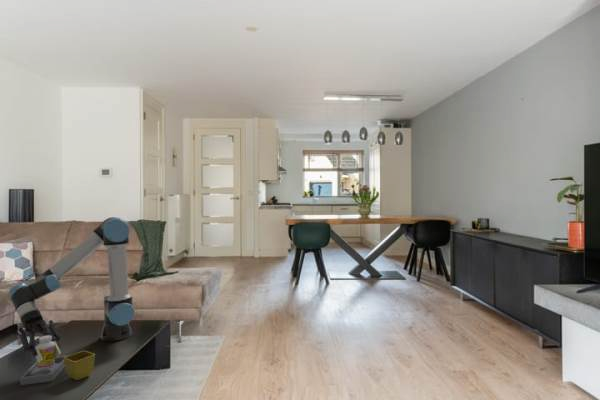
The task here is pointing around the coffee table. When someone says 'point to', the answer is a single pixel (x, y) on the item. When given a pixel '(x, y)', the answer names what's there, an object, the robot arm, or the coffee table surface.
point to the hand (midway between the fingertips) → (50, 358)
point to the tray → (43, 373)
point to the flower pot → (79, 364)
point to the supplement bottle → (46, 352)
